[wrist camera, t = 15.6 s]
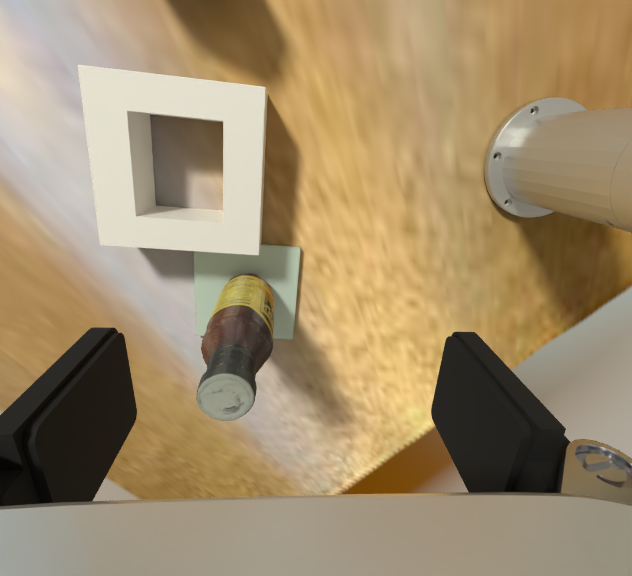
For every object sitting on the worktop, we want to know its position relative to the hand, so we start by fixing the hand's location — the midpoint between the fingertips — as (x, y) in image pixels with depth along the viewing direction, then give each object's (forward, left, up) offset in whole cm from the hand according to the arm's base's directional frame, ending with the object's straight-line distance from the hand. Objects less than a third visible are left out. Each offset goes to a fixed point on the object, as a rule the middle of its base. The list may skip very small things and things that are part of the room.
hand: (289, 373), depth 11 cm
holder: (+10, -3, -33) cm, 34 cm away
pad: (+4, +11, -33) cm, 35 cm away
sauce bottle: (+3, +11, -32) cm, 34 cm away
